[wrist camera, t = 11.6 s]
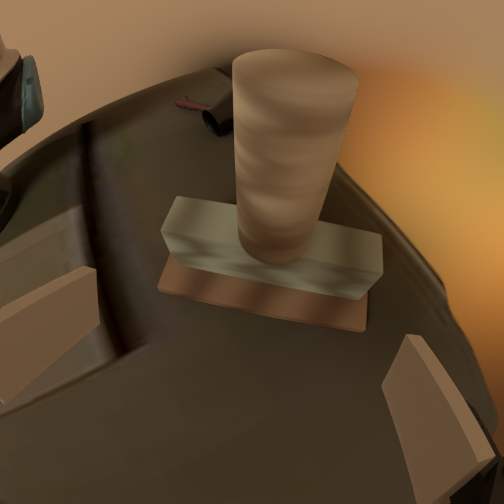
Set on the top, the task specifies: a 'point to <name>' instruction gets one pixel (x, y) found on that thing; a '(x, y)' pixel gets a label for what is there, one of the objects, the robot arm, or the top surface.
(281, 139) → the rod
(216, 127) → the coffee pot
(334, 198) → the top surface
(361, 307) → the stand
